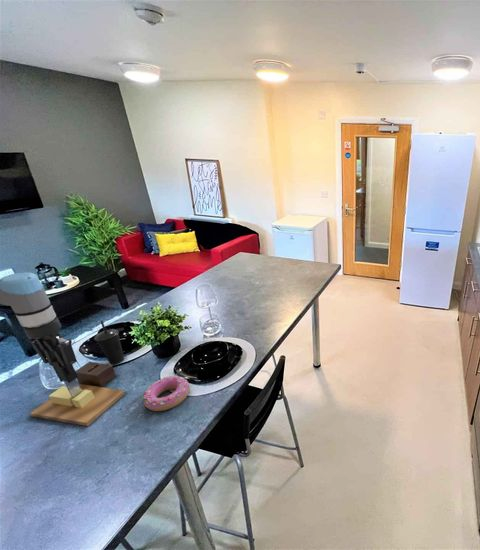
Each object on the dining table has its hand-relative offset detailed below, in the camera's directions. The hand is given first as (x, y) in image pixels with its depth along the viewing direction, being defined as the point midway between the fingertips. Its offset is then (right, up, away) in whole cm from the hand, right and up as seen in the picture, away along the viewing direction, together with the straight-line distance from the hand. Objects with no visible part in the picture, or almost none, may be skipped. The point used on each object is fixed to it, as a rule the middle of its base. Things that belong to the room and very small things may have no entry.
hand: (69, 379), depth 99 cm
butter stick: (-5, -9, +5) cm, 12 cm away
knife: (0, -9, +4) cm, 9 cm away
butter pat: (+1, -10, +4) cm, 11 cm away
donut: (+28, -11, +9) cm, 31 cm away
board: (-1, -11, +5) cm, 12 cm away
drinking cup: (-6, -1, +26) cm, 27 cm away
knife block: (-5, -6, +16) cm, 17 cm away
